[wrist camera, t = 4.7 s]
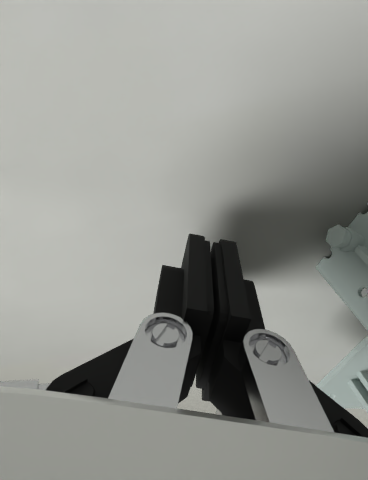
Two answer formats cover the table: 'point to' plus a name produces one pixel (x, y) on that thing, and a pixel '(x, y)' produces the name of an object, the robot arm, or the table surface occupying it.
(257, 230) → the table surface
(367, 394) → the metal bracket
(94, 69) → the table surface
